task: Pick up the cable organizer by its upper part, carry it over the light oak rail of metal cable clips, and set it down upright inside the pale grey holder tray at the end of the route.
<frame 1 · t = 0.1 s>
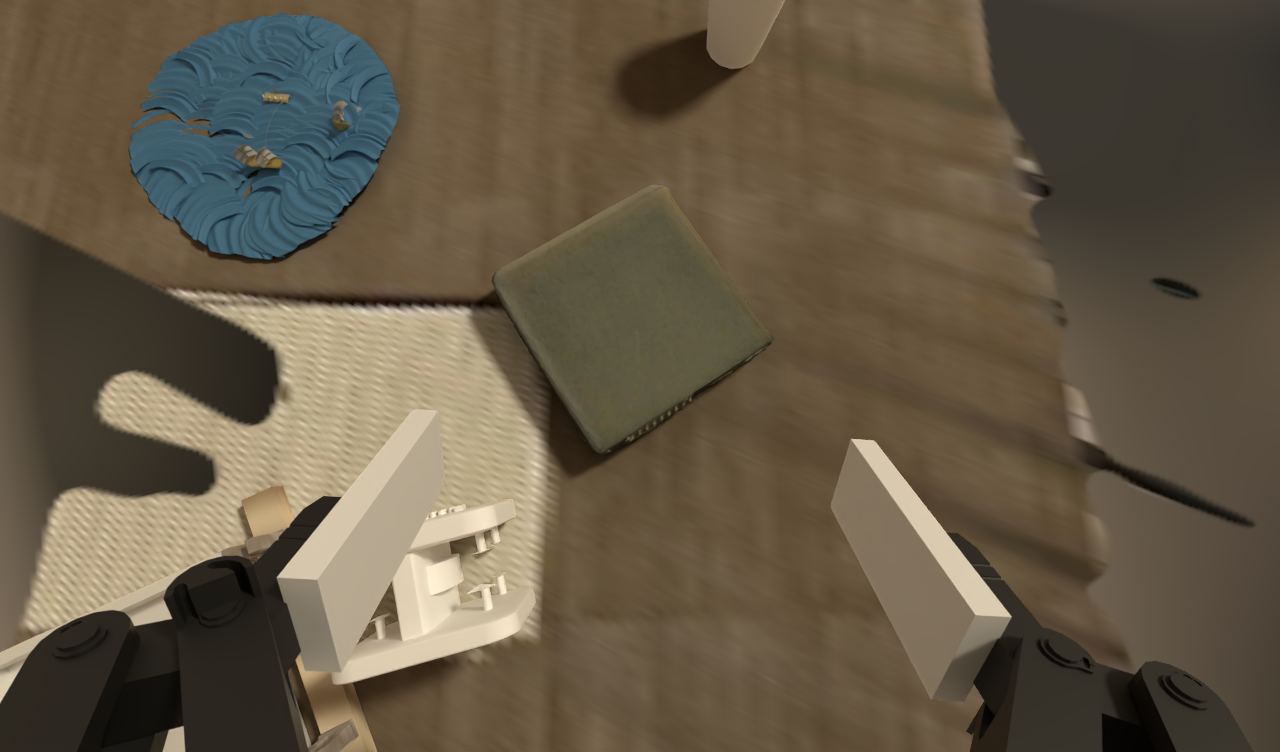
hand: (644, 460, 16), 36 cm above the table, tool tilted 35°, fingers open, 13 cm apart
blue wave plaque: (275, 139, 57), on the table
cable organizer: (453, 564, 49), on the table
foam cup: (731, 47, 61), on the table
holder tray: (158, 707, 46), on the table
network switch: (628, 323, 55), on the table
cable clip rail: (315, 631, 48), on the table
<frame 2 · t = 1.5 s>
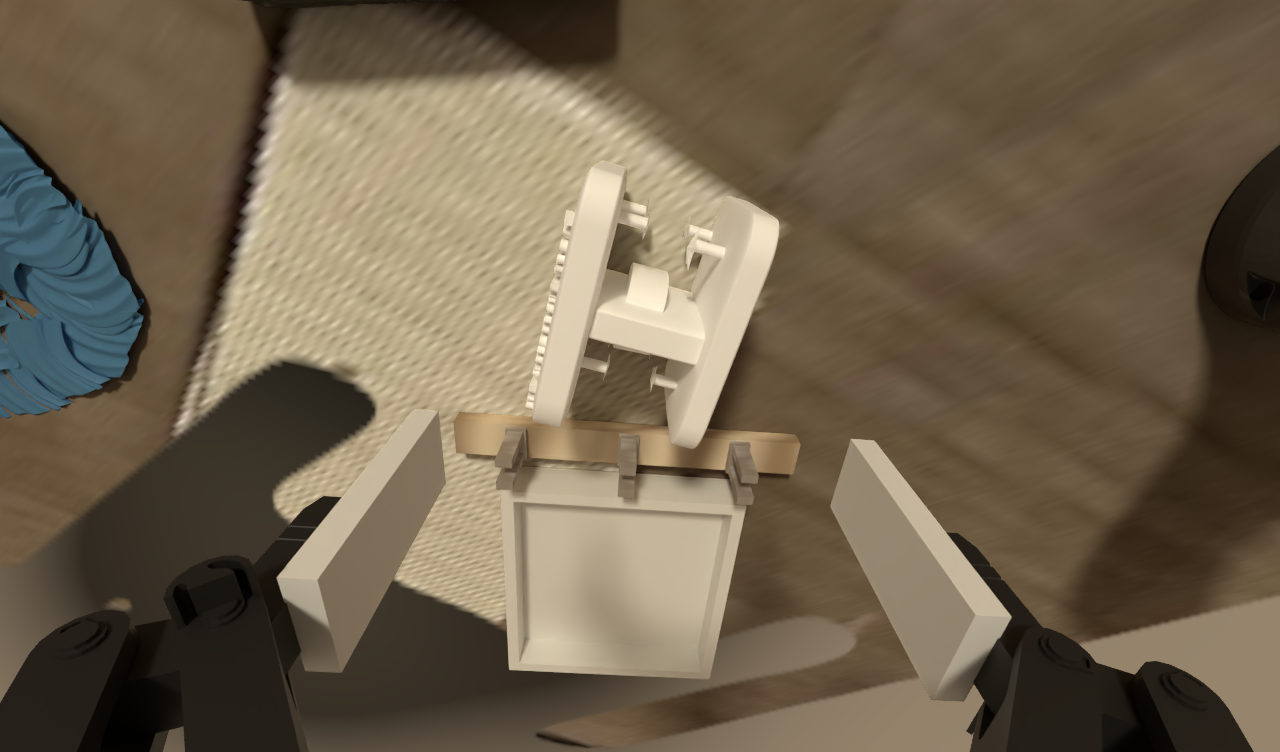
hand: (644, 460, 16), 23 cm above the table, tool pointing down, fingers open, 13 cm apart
cable organizer: (641, 281, 37), on the table
holder tray: (617, 565, 49), on the table
cable clip rail: (628, 438, 43), on the table
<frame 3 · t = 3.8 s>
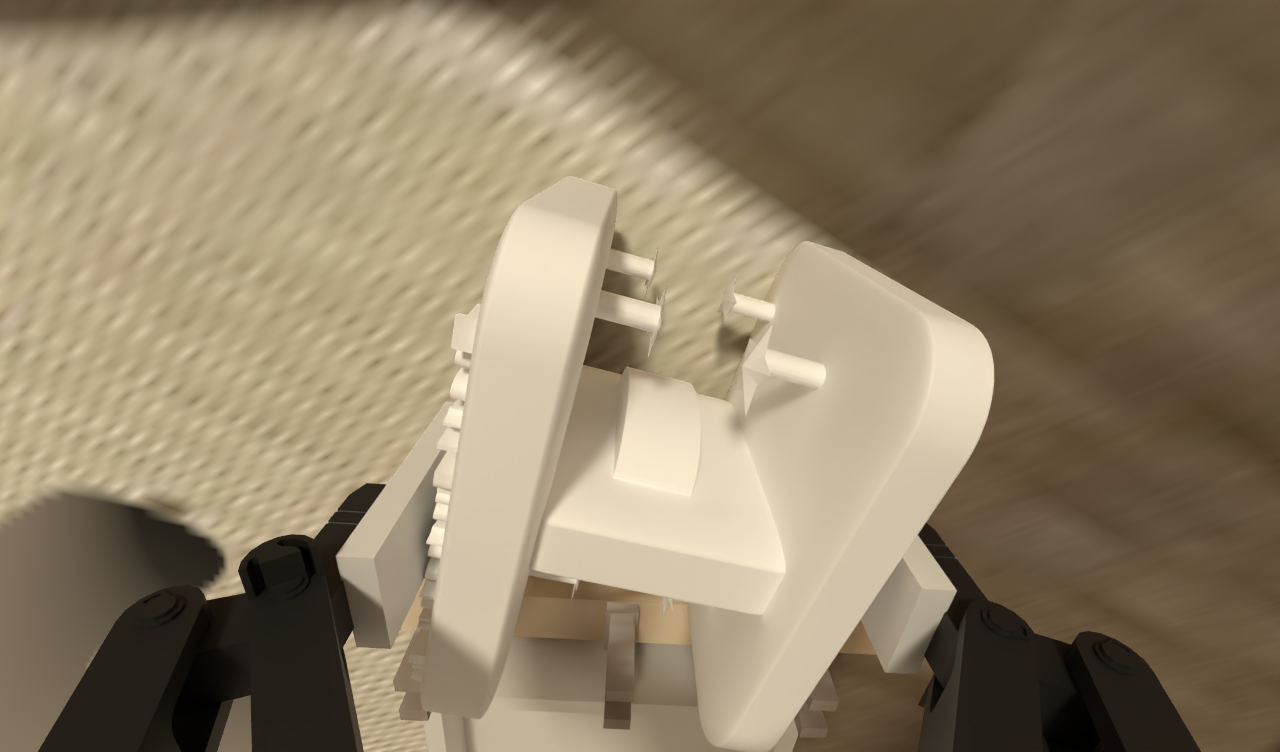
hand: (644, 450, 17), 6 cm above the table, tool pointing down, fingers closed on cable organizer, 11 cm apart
cable organizer: (642, 374, 22), on the table, touching gripper
cable clip rail: (621, 598, 28), on the table
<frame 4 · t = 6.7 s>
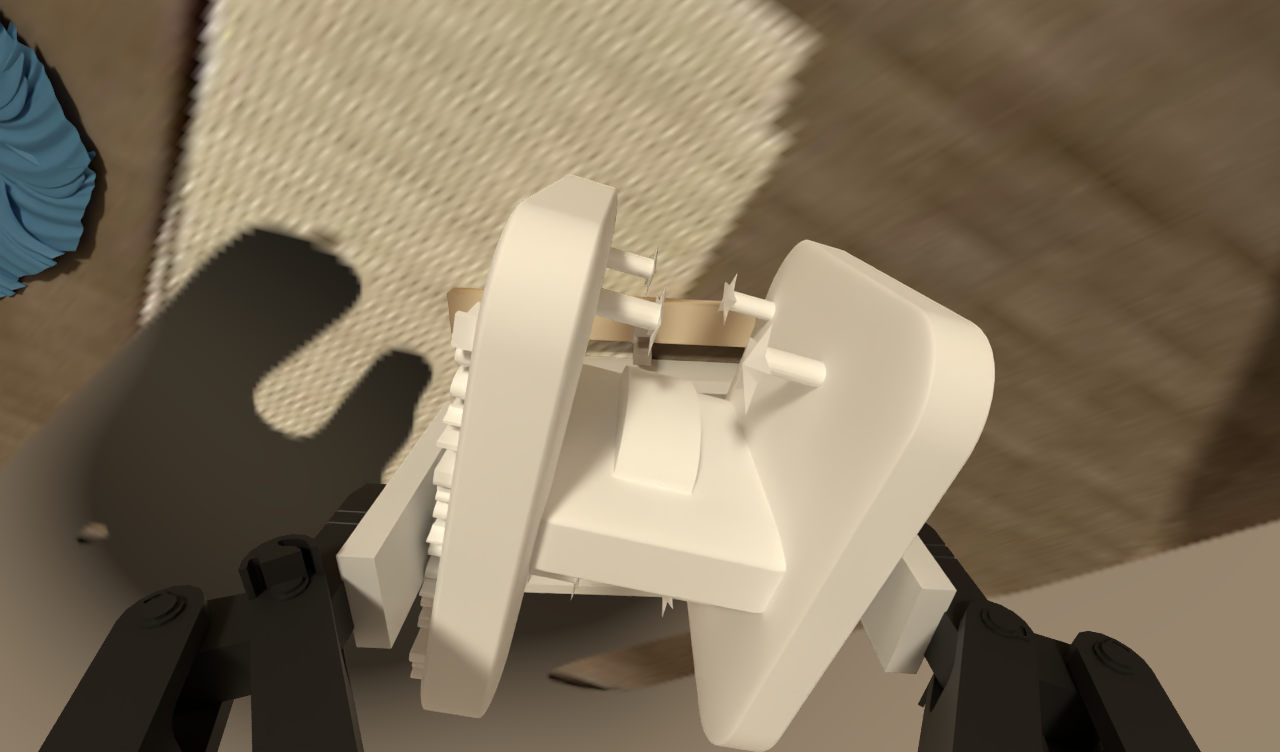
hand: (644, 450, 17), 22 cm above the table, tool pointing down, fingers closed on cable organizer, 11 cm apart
cable organizer: (642, 373, 22), point 16 cm above the table, touching gripper
holder tray: (633, 473, 45), on the table
cable clip rail: (642, 316, 38), on the table
when the fingers open (8 cm above the table, at t = 11.5 s): cable organizer drops 1 cm, resting on holder tray.
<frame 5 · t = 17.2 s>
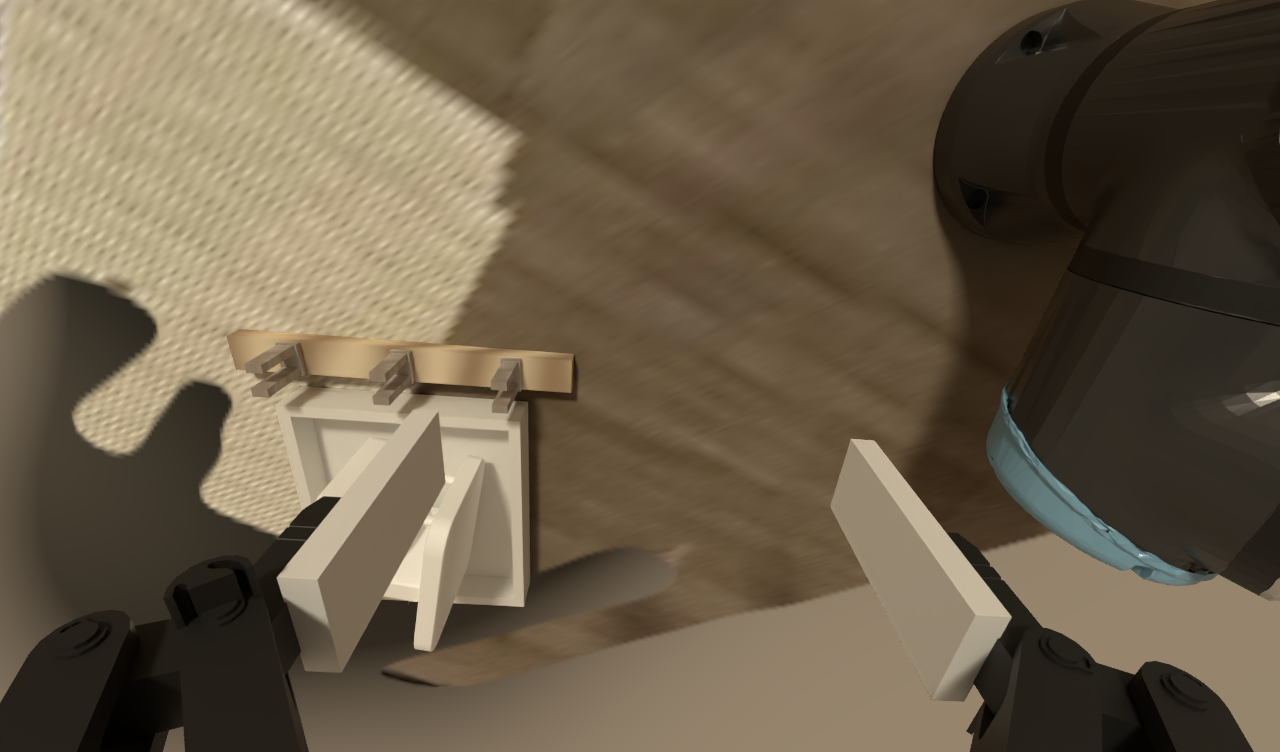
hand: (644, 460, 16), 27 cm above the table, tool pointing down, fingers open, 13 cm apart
cable organizer: (427, 496, 49), point 1 cm above the table, touching holder tray
holder tray: (427, 492, 50), on the table
cable clip rail: (411, 358, 44), on the table
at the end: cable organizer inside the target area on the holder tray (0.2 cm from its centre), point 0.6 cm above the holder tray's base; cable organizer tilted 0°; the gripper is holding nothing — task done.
